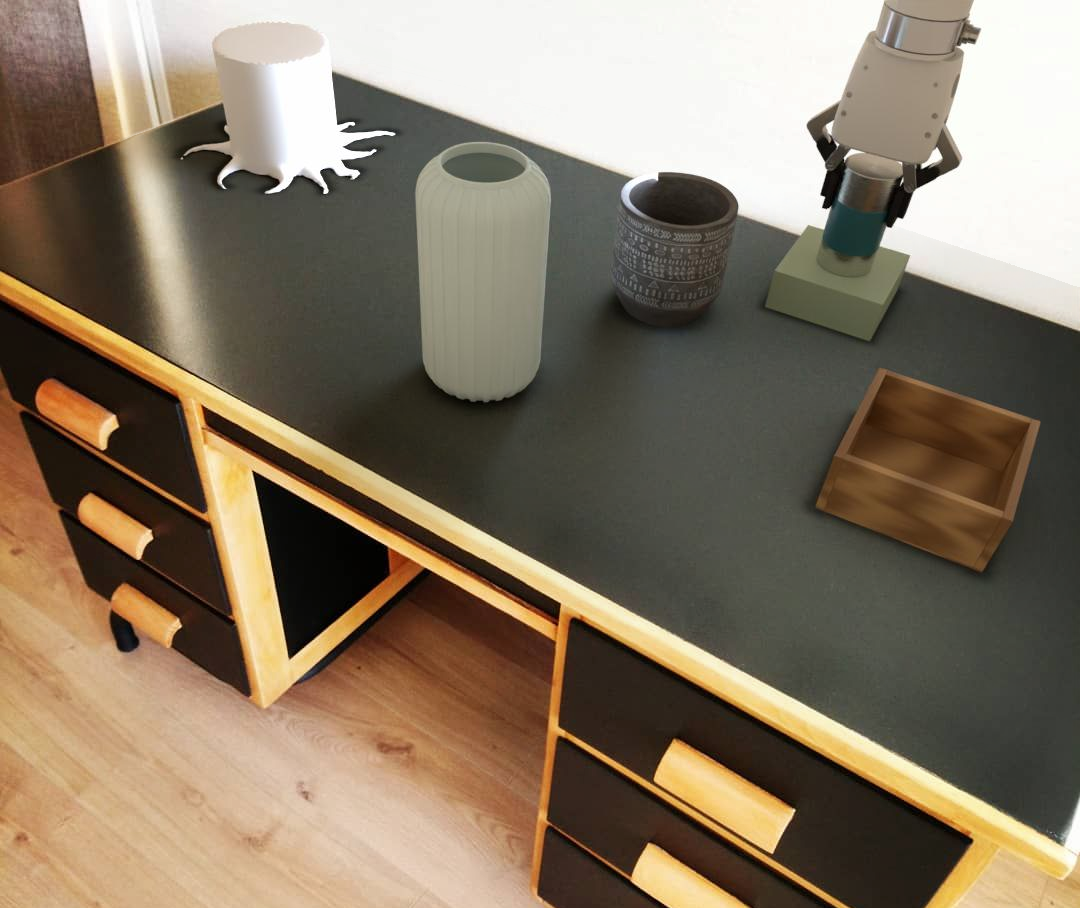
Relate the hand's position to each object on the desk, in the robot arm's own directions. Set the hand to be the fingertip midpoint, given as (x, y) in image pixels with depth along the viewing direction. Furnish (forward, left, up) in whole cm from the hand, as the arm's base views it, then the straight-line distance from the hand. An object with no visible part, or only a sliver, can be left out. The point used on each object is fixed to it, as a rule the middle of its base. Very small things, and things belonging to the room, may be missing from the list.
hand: (860, 211), depth 99 cm
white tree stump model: (+74, +6, -11) cm, 75 cm away
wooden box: (-16, +27, -11) cm, 33 cm away
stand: (0, 0, -11) cm, 11 cm away
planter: (+16, +12, -11) cm, 23 cm away
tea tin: (0, 0, -6) cm, 6 cm away
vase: (+26, +34, -11) cm, 44 cm away
